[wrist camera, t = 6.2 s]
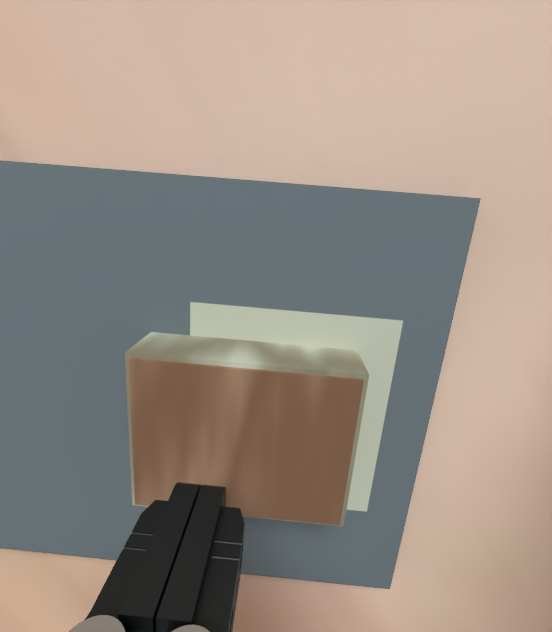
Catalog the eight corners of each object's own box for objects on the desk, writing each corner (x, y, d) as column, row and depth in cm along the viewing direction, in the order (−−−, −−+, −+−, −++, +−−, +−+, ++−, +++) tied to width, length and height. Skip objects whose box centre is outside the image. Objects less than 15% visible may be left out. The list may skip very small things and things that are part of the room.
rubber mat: (466, 200, 14) (480, 198, 13) (384, 570, 19) (389, 589, 18) (-107, 154, 14) (-137, 149, 13) (-27, 527, 20) (-44, 543, 19)
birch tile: (151, 331, 15) (356, 350, 14) (154, 465, 17) (336, 483, 16) (122, 353, 12) (370, 376, 12) (130, 507, 14) (344, 529, 14)
